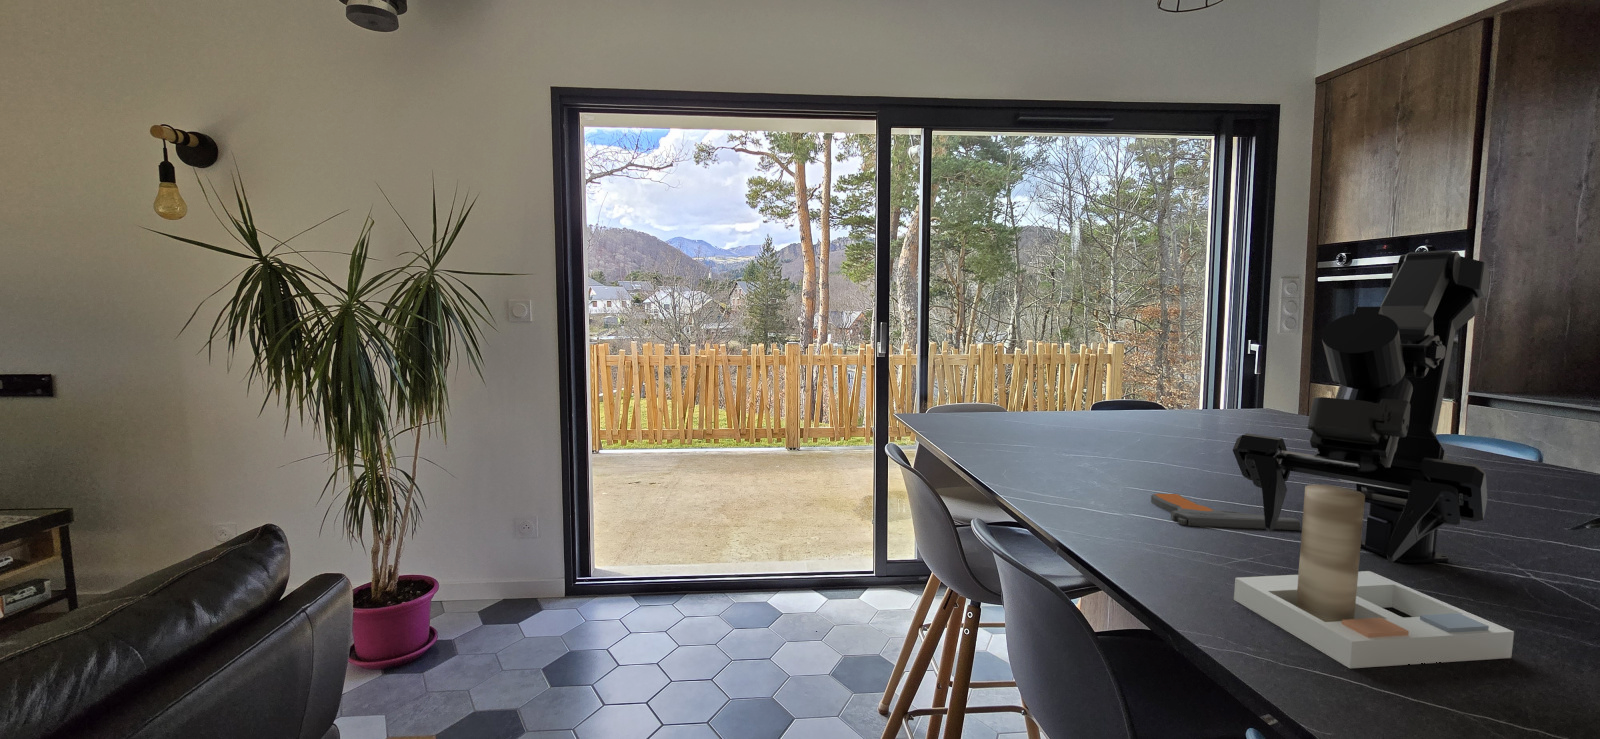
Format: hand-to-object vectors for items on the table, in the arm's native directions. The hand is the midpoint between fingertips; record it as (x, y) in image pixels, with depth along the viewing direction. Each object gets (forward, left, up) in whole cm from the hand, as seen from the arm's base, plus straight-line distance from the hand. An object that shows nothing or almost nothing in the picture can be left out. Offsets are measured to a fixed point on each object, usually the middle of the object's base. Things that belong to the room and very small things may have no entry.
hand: (1325, 543), depth 60 cm
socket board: (-5, -1, -9) cm, 10 cm away
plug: (-1, -1, -9) cm, 9 cm away
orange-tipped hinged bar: (-17, -33, -10) cm, 38 cm away
